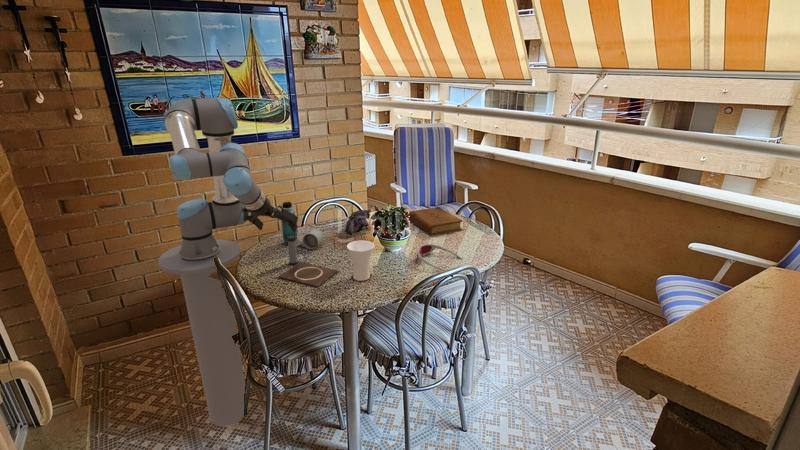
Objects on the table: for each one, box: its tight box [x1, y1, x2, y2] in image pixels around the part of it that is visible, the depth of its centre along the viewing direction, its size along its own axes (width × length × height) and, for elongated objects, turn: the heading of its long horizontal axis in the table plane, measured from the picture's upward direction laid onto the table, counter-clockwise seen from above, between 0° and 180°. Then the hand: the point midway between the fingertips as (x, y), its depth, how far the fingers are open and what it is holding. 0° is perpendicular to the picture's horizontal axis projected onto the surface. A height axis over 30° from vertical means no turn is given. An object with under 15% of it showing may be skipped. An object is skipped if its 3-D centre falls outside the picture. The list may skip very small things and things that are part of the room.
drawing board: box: [278, 262, 339, 288], centre depth 162 cm, size 18×14×1 cm
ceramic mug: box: [299, 228, 325, 250], centre depth 188 cm, size 11×8×8 cm
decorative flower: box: [345, 209, 372, 235], centre depth 207 cm, size 15×12×15 cm
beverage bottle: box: [280, 201, 298, 243], centre depth 189 cm, size 6×7×20 cm
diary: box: [408, 206, 463, 237], centre depth 213 cm, size 23×19×6 cm
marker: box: [287, 235, 299, 266], centre depth 170 cm, size 3×3×12 cm
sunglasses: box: [416, 243, 462, 272], centre depth 174 cm, size 17×17×5 cm
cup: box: [346, 239, 375, 282], centre depth 158 cm, size 10×10×14 cm
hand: (278, 227), depth 155 cm, fingers open, 13 cm apart
